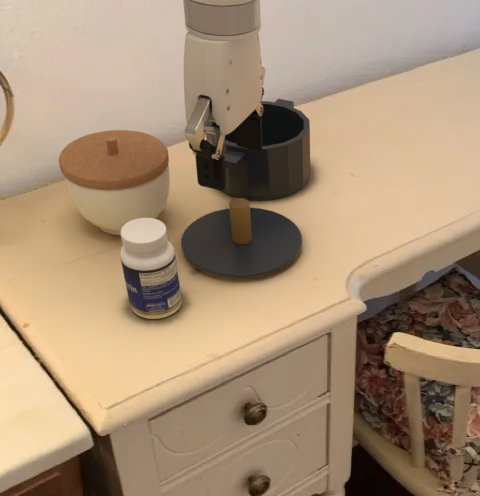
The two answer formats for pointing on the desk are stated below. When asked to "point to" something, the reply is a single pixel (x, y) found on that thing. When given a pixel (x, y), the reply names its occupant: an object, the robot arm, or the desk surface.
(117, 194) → the lidded bowl
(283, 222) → the pan lid
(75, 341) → the desk surface
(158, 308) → the pill bottle
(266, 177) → the pan
